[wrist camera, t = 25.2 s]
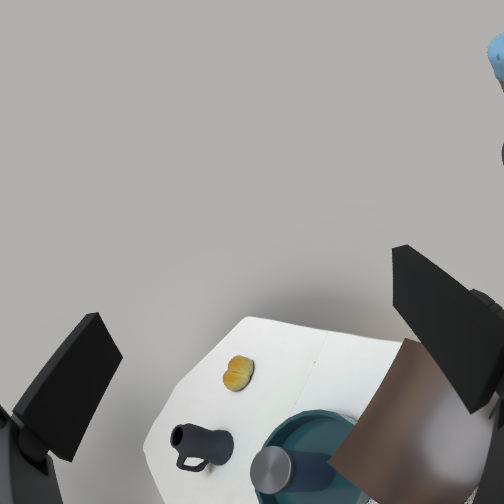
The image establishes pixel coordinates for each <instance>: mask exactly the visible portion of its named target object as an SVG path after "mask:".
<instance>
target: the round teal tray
mask: <svg viewBox="0 0 504 504" xmlns="http://www.w3.org/2000/svg"><path fill="white" fill-rule="evenodd" d="M356 423H357V421H356V420H354V419H352V418H351V417H349V416H346V415H342V414H338V413H334V412H330V411H325V410H321V409H319V410H311V411H303V412H301V413H299V414H297V415H294V416H292V417H290V418H288V419H287V420H285V421H284V422H283V423H282V424H281V425H279V426H278V427H277V428H276V429H275V430H274V431H273V432H272V434H271V435H270V436H269V438H268V439H267V440H266V441H265V443H264V445H263V447H262V449H264V448H266V447H269V446H278V447H283V448H286V449H289V450H296V451H305V452H314V453H323V454H326V455H328V456H330V457H331V456H332V455H333V454H334V453H335V451H336V450H337V449H338V448H339V446H340V445H341V444H342V442H343V441H344V440H345V438H346V437H347V435H348V434H349V433H350V431H351V430H352V428H353V427H354V426H355V424H356ZM262 449H261V450H262ZM255 492H256V495H257V498H258V501H259V504H366V503H367V501H368V500H369V498H370V497H369V496H368V495H367V494H365V493H364V492H363V491H361V490H360V489H359V488H357V487H356V486H355V485H354V484H352V483H351V482H350V481H349V480H347V479H346V478H345V477H344V476H342V475H341V474H340V473H339V472H338V471H336V472H335V477H334V479H333V481H332V482H331V484H330V485H329V486H328V487H326V488H325V489H323V490H320V491H311V492H291V493H278V494H265V493H262V492H260V491H258V490H257V489H256V488H255Z"/></svg>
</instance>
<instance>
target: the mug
mask: <svg viewBox="0 0 504 504" xmlns="http://www.w3.org/2000/svg"><path fill="white" fill-rule="evenodd" d="M170 442H171V445H172V447H173V448H175V449H176V450H177V451H178V453H179V457H178V459H177V464H176V465H177V467H178V468H179V469H182V470H187V471H193V472H199V471H202V470H204V468H205V466H206V465H207V464H208V463H209V462H210V463H213V464H215V465H218V466H219V465H223V464H225V463H226V462H227V461H228V460H229V459H230V457H231V455H232V452H233V445H234V442H233V437H232V436H231V434H230V433H229V432H228V431H224V430H215V431H211V430H208V429H205V428H203V427H200V426H196V425H193V424H190V423H188V424H185V425H181V424H180V425H177V426H176V427H175V428H174V429H173V431H172V434H171V438H170ZM187 457H196V458H200V459H204V461H203V462H202V463H200V464H199V465H198V466H187V465H183V464H184V462H185V460H186V459H187Z"/></svg>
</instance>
